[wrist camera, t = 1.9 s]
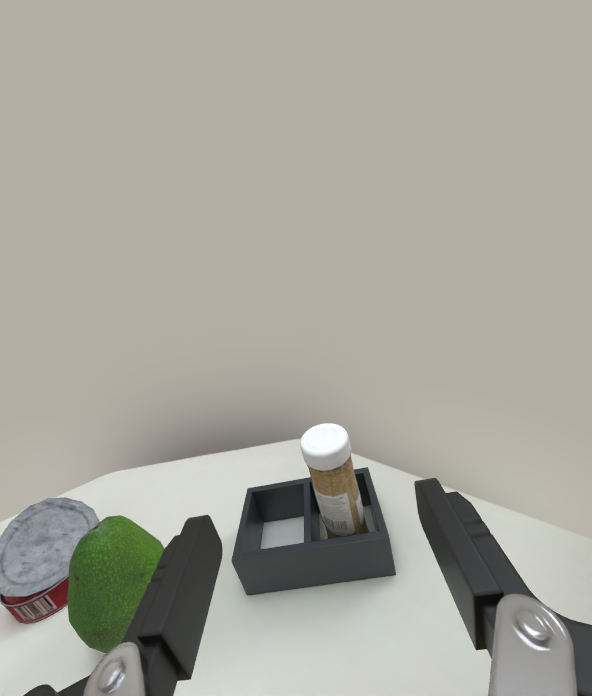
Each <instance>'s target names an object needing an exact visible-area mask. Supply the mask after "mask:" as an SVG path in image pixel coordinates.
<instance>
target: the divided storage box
mask: <svg viewBox="0 0 592 696" xmlns="http://www.w3.org/2000/svg"><path fill="white" fill-rule="evenodd" d="M354 474H355V478H356V481H357V484H358V489H359V492H360V497H361V501H362V505H363V506H366V505H370V508H371V512H372V516H373V519H374V523H375V527H376V531H377V532H372V533H365V534H359V535H352V536H346V537H339V538H333V539H326V540H320V530H319V515H318V513H321V512H320V509H319V505H318V502H317V498H316V495H315V491H314V488H313V484H312V479H311V477H310V478H304V479H299V480H293V481H287V482H282V483H276V484H270V485H265V486H259V487H253V488H248V489H247V494H246V498H245V502H244V507H243V511H242V516H241V520H240V525H239V529H238V534H237V538H236V543H235V548H234V552H233V556H232V564H233V566H234V568H235V570H236V572H237V574H238V576H239V579H240V581H241V583H242V585H243V587H244V589H245V592H246V594H247V595H252V594H259V593H266V592H274V591H281V590H288V589H295V588H303V587H310V586H317V585H324V584H331V583H339V582H346V581H353V580H360V579H367V578H375V577H382V576H389V575H396V572H395V566H394V561H393V555H392V550H391V545H390V539H389V535H388V532H387V528H386V525H385V522H384V519H383V515H382V512H381V509H380V505H379V502H378V499H377V496H376V492H375V489H374V486H373V482H372V479H371V476H370V473H369V469H368V467H367V468H361V469H355V470H354ZM299 516H304V543H300V544H294V545H287V546H281V547H274V548H268V549H261V550H260V544H261V537H262V530H263V522H268V521H274V520H280V519H286V518H292V517H299Z"/></svg>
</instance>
